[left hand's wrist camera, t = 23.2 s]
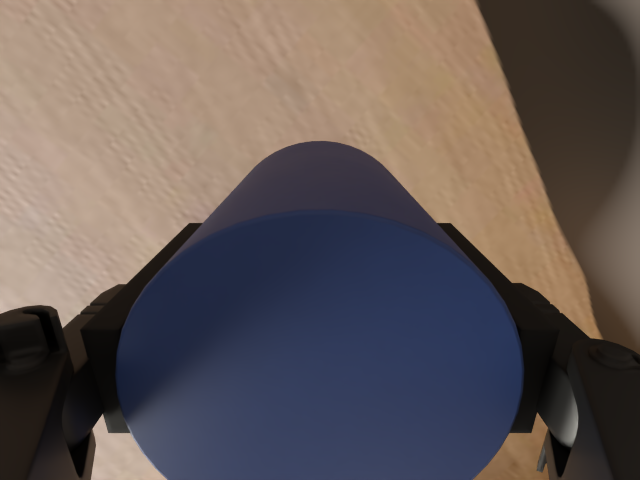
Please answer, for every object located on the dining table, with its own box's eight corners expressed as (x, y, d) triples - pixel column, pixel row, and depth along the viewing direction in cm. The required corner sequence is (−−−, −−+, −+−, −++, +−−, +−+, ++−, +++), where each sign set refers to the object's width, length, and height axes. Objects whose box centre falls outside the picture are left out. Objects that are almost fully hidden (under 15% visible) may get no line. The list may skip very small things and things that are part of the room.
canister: (215, 149, 15) (53, 230, 6) (410, 133, 15) (555, 191, 6) (245, 315, 18) (167, 543, 9) (409, 304, 18) (504, 526, 9)
